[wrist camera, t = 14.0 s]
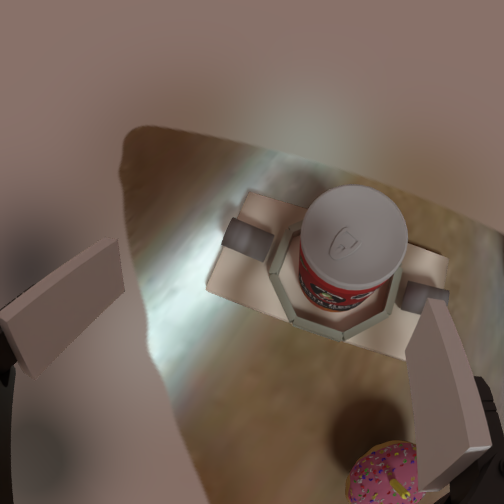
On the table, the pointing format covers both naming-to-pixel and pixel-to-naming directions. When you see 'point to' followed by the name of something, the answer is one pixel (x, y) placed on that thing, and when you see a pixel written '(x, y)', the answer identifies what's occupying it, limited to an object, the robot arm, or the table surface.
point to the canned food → (349, 246)
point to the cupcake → (385, 475)
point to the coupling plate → (289, 291)
